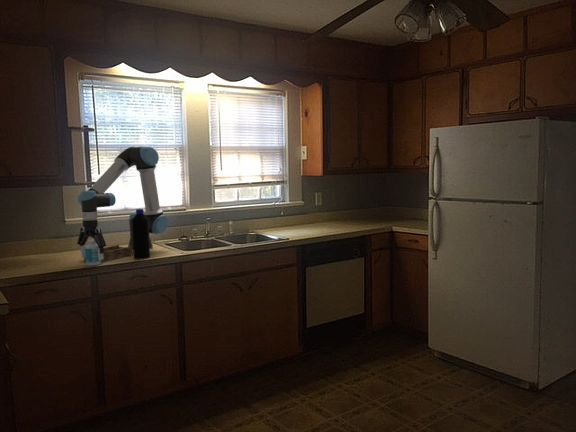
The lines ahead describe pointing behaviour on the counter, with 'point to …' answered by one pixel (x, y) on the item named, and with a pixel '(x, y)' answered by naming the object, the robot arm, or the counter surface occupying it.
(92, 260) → the pill bottle
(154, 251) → the counter surface
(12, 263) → the counter surface
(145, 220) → the bottle
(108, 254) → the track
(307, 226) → the counter surface
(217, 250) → the counter surface
